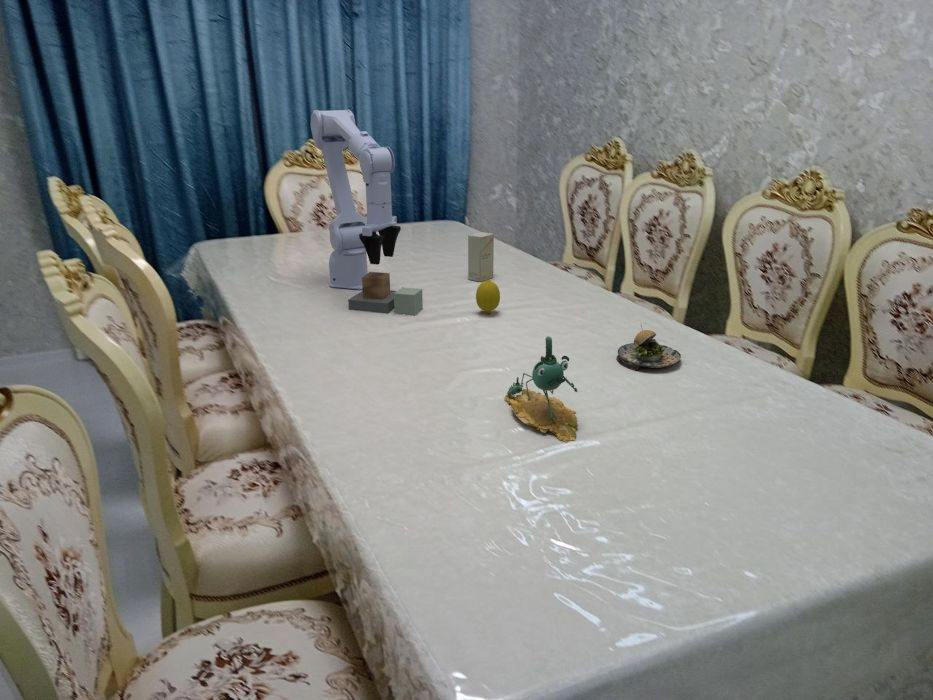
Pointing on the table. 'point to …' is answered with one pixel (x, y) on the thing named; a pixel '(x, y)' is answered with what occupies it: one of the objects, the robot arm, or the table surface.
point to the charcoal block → (372, 303)
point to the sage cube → (408, 301)
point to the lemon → (488, 296)
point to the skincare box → (480, 256)
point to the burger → (646, 353)
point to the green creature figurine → (545, 398)
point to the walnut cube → (376, 285)
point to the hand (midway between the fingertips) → (381, 260)
